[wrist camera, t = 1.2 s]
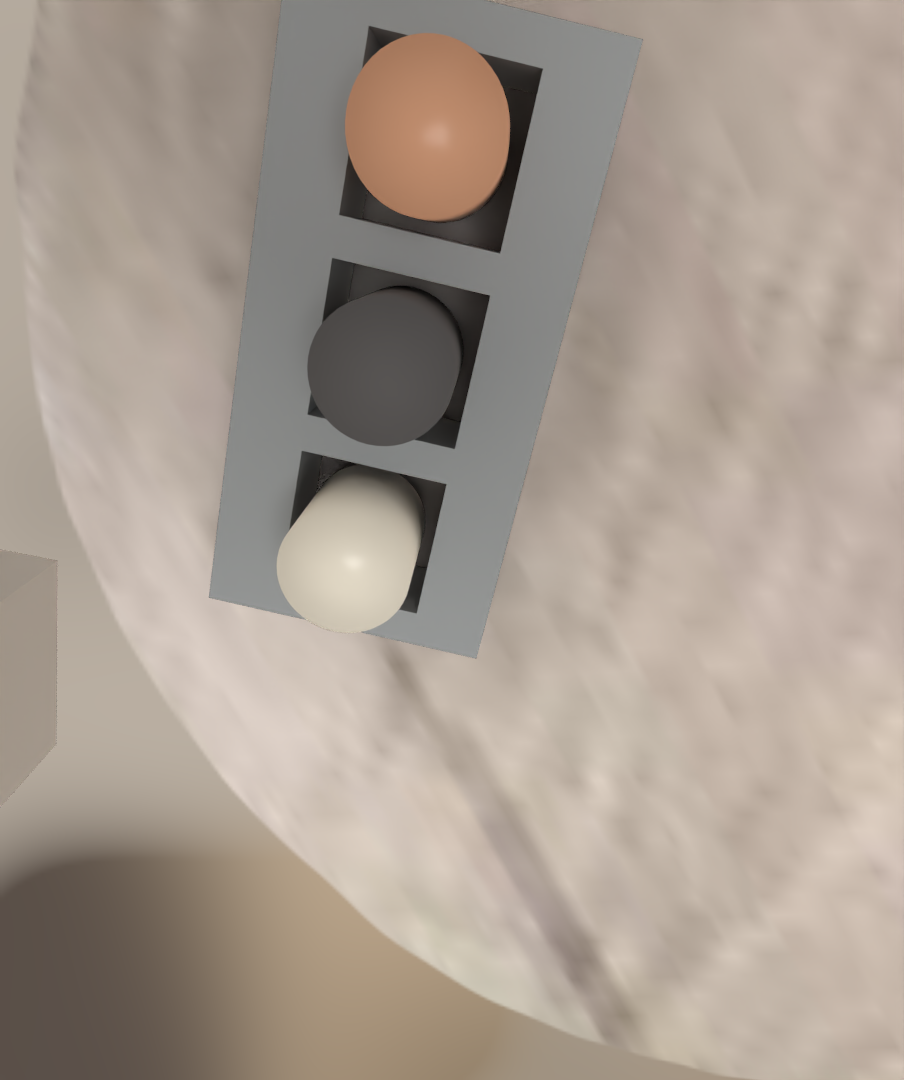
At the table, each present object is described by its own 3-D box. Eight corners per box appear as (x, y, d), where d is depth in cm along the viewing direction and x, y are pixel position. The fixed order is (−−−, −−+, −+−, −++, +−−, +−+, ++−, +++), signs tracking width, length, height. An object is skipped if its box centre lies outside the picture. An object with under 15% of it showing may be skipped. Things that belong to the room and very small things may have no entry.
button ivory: (322, 452, 34) (286, 494, 28) (435, 478, 34) (422, 526, 28) (304, 557, 36) (267, 616, 30) (412, 582, 36) (396, 645, 30)
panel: (320, -5, 30) (287, -49, 26) (621, 69, 31) (642, 39, 26) (243, 554, 39) (208, 597, 34) (479, 609, 39) (476, 658, 35)
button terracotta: (388, 58, 28) (360, 14, 23) (523, 92, 28) (528, 55, 23) (363, 205, 30) (332, 197, 25) (490, 236, 30) (487, 235, 25)
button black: (352, 272, 31) (319, 280, 25) (475, 302, 31) (470, 315, 26) (331, 396, 33) (297, 427, 27) (448, 423, 33) (437, 460, 27)
